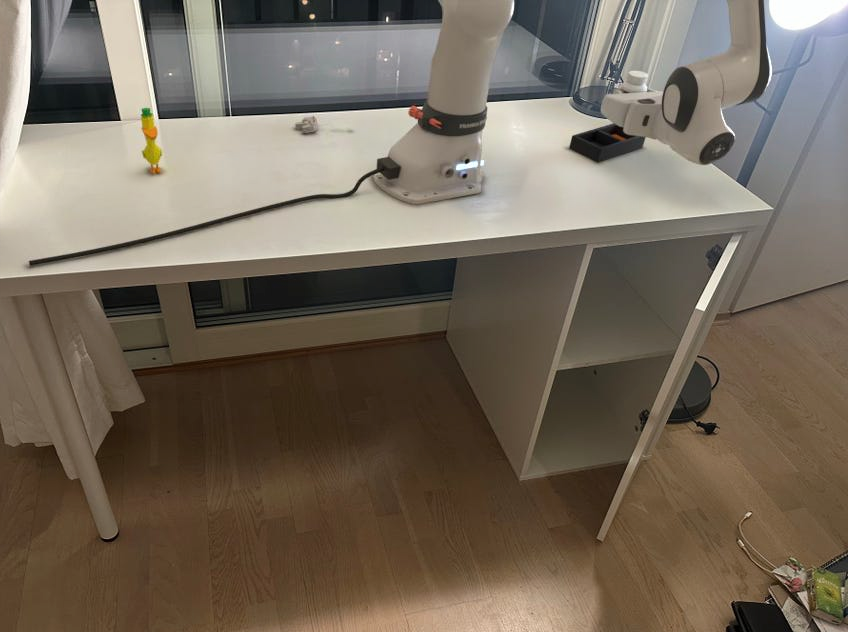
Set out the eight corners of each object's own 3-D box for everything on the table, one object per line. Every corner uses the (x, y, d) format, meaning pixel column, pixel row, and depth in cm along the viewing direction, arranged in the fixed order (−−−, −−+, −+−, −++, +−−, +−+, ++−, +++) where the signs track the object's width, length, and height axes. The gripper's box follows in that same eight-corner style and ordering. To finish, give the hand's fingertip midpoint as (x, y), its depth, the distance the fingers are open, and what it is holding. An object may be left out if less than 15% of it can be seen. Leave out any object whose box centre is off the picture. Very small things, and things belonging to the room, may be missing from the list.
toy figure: (168, 178, 133) (160, 116, 126) (149, 181, 132) (139, 118, 124) (161, 163, 138) (152, 102, 130) (142, 165, 137) (132, 104, 129)
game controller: (293, 125, 156) (292, 113, 154) (342, 121, 159) (343, 110, 157) (299, 135, 152) (299, 123, 150) (350, 131, 155) (350, 120, 153)
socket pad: (642, 147, 157) (646, 134, 155) (597, 162, 150) (601, 149, 148) (613, 134, 162) (617, 122, 160) (568, 148, 155) (572, 135, 153)
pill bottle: (608, 114, 155) (620, 69, 149) (630, 113, 156) (643, 69, 150) (618, 123, 151) (632, 78, 145) (641, 123, 152) (655, 78, 146)
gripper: (717, 98, 141) (676, 74, 151) (628, 103, 136) (592, 79, 146) (705, 128, 145) (666, 103, 155) (619, 135, 140) (584, 109, 150)
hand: (629, 91), depth 151 cm, fingers closed on pill bottle, 5 cm apart
